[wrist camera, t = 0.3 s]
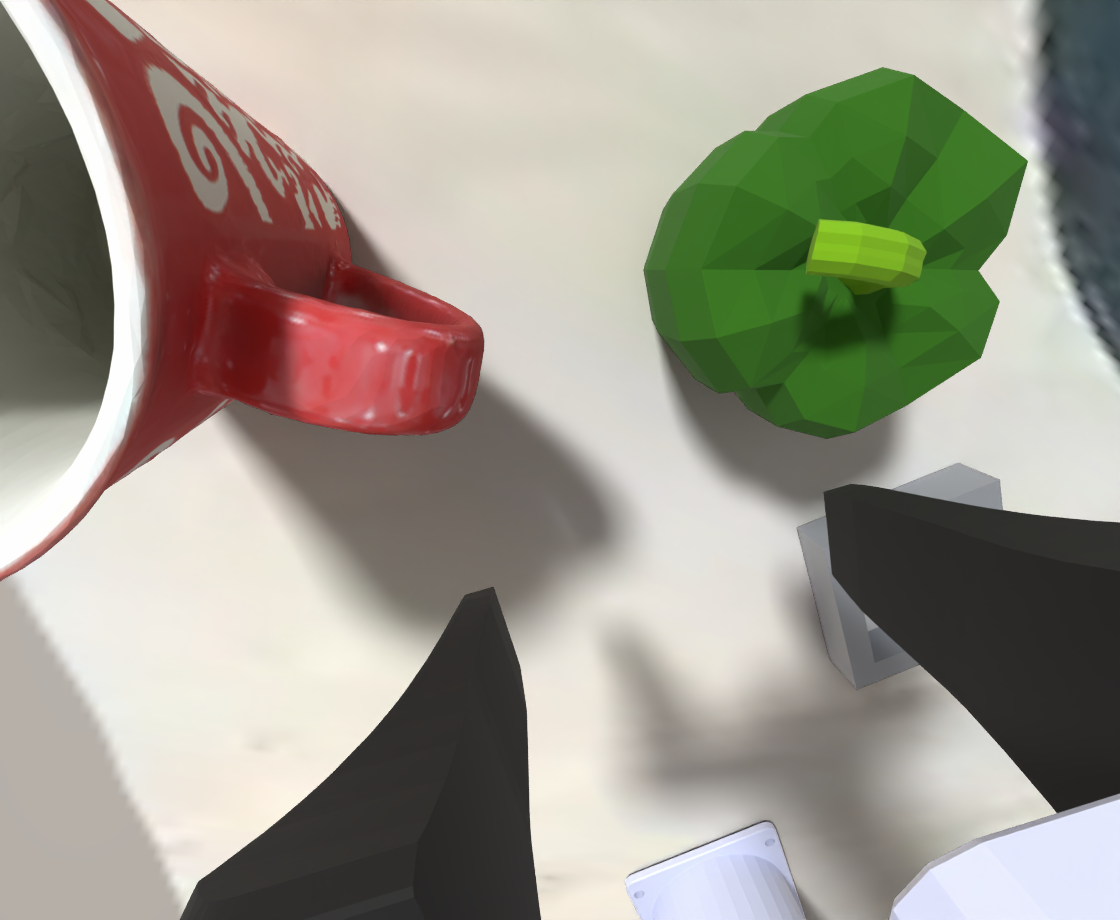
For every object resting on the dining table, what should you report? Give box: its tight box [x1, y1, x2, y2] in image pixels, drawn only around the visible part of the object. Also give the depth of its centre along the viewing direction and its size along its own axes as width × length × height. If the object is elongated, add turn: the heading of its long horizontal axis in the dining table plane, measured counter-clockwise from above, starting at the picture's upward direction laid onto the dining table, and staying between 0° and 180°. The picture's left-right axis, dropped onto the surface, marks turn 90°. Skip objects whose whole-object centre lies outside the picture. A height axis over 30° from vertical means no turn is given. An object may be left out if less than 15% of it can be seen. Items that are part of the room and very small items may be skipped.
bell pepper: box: [644, 67, 1028, 439], centre depth 15 cm, size 8×8×10 cm
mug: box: [0, 0, 484, 581], centre depth 12 cm, size 13×9×14 cm
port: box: [797, 463, 1003, 689], centre depth 24 cm, size 7×7×2 cm
